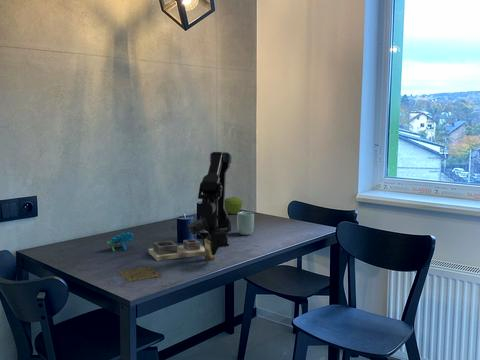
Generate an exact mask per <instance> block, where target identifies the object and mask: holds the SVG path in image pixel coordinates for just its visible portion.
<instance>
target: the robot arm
mask: <svg viewBox="0 0 480 360" xmlns="http://www.w3.org/2000/svg"><path fill="white" fill-rule="evenodd" d="M232 158H233V157H232V154H230V153H229V152H227V151H226V152H223V151H213V152H211V153H210V154H209V162H210V163H209V168H208V172H207V174H206V175H205V176H203V177H202V180H201V182H200V183H199V188H198V196H197V199H198V200H201V203H200V204H198V206H197V209H196V211H197V214H198V216H200V217H199V219H196V220H194V221H192V222H190V223H188V224H187V227H188V230H189V232H190V234H192V235H196V234H198V235H199V236H200V237H201V240H202V245H203V246H204V248H205V242H204V238H207V239H208V240H209V241H210V244H211V252H212V255H215V256H216V253H217V251H218V249H219V247H228V246H230V243H228V240H229V239H228V238H229V236H228V235H229V234H228V233H229V232H232V222H231V220H230V218H229V213H228V212H227V210H226V209H225V199H226V181H227V180H226V179H227V173H228V171H229V169H230V167H231V164H232ZM208 237H209V238H208Z"/></svg>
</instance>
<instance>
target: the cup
mask: <svg viewBox="0 0 480 360" xmlns="http://www.w3.org/2000/svg"><path fill="white" fill-rule="evenodd" d="M236 214H237V215H236V226H237V232H238V233H239V234H240V235H242V236H249V235H252V233H253V231H254V227H255V213H254V212H253V211H239V212H238V213H236Z"/></svg>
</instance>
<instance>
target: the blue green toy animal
mask: <svg viewBox="0 0 480 360" xmlns="http://www.w3.org/2000/svg"><path fill="white" fill-rule="evenodd" d="M132 239H134V234H133V232H129V231H127V232H126V233H125V232H121V233H120V235H119V234H116V235H115V237H111V239H110V241H109V240H108V241H106V244H107V246H109V247H110V249H112V252H113V253H114V252H116V249H115V248H117V247H119V248H120V247H121V248H122V249H123V251H127V250H128V249H127V246H126V245H127V244H128V243H130V242H131V241H132Z"/></svg>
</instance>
